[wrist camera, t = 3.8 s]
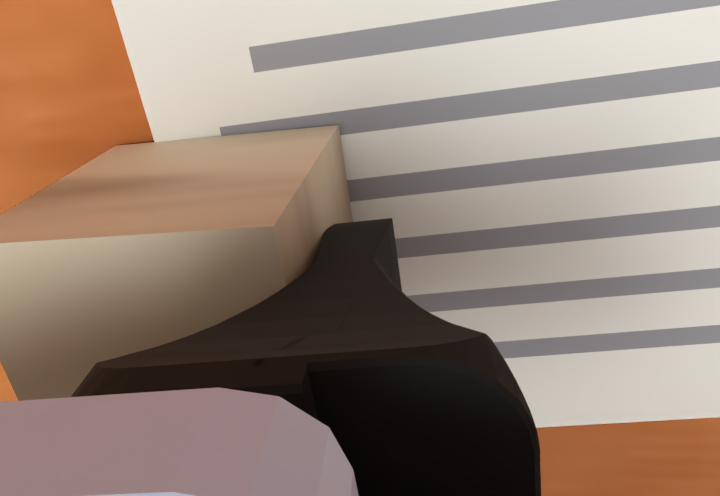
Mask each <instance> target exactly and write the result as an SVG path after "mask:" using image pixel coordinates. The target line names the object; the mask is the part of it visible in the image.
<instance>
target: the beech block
mask: <svg viewBox="0 0 720 496" xmlns="http://www.w3.org/2000/svg"><path fill="white" fill-rule="evenodd" d="M348 222H353V218H352V211H351V205H350V198H349V191H348V184H347V177H346V170H345V164H344V157H343V150H342V143H341V136H340V129H339V125H334V126H323V127H312V128H301V129H290V130H280V131H269V132H258V133H247V134H236V135H225V136H215V137H204V138H193V139H182V140H171V141H162V142H150V143H139V144H128V145H117V146H114V147H113V148H111V149H109V150H108V151H106V152H104V153H103V154H101V155H99V156H98V157H96V158H94V159H93V160H91V161H89V162H88V163H86V164H84V165H83V166H81V167H79V168H78V169H76V170H74V171H73V172H71V173H69V174H68V175H66V176H64V177H63V178H61V179H59V180H58V181H56V182H54V183H53V184H51V185H49V186H48V187H46V188H44V189H43V190H41V191H39V192H38V193H36V194H34V195H33V196H31V197H29V198H28V199H26V200H24V201H23V202H21V203H19V204H18V205H16V206H14V207H13V208H11V209H9V210H8V211H6V212H4V213H3V214H1V215H0V361H1V363H2V365H3V367H4V370H5V372H6V374H7V376H8V378H9V380H10V383H11V385H12V387H13V389H14V391H15V393H16V396H17V398H18V400H19V401H22V400H37V399H52V398H67V397H71V396H72V394H73V393H74V392H75V390H76V389H77V388H78V386H79V385H80V384H81V382H82V381H83V380H84V378H85V377H86V376H87V374H88V373H89V372H90V370H91V369H92V368H93V367H94V365H95V364H96V363H97V362H101V361H105V360H110V359H113V358H117V357H121V356H124V355H128V354H132V353H135V352H139V351H143V350H146V349H150V348H153V347H157V346H160V345H163V344H166V343H169V342H172V341H175V340H178V339H180V338H183V337H186V336H189V335H192V334H194V333H197V332H199V331H202V330H204V329H207V328H209V327H212V326H214V325H216V324H218V323H221V322H223V321H225V320H227V319H229V318H231V317H233V316H235V315H237V314H239V313H241V312H243V311H245V310H247V309H249V308H251V307H253V306H255V305H256V304H258V303H260V302H262V301H263V300H265V299H267V298H268V297H270V296H271V295H273V294H275V293H276V292H278V291H279V290H281V289H282V288H284V287H285V286H287V285H288V284H290V283H291V282H292V281H294V280H295V279H296V278H298V277H299V276H300V275H301V274H302V273H304V272H305V271H306V270H307V269H309V268H310V267H311V266H312V265H313V264H315V262H316V258H317V254H318V250H319V246H320V242H321V239H322V236H323V233H324V232H325V231H326V229H327V228H329V227H330V226H332V225H334V224H338V223H348Z"/></svg>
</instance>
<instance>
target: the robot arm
mask: <svg viewBox="0 0 720 496" xmlns="http://www.w3.org/2000/svg"><path fill="white" fill-rule="evenodd" d="M0 496H541V479H540V447H539V440H538V434H537V430H536V426H535V423H534V419H533V417H532V414H531V411H530V409H529V407H528V404H527V402H526V400H525V397H524V395H523V393H522V391H521V389H520V387H519V385H518V383H517V381H516V379H515V377H514V375H513V374H512V372H511V370H510V368H509V366H508V365H507V363H506V361H505V360H504V358H503V356H502V355H501V353H500V352H499V350H498V348H497V347H496V345H495V344H494V342H493V341H492V339H491V338H490V337H489V336H488V335H487V334H485V333H482V332H479V331H475V330H472V329H469V328H465V327H462V326H459V325H455V324H452V323H450V322H447V321H445V320H443V319H441V318H439V317H437V316H435V315H433V314H431V313H429V312H427V311H426V310H424V309H423V308H421V307H420V306H418V305H417V304H415V303H414V302H413V301H412V300H411V299H410V298H408V297H407V296H406V295H405V294H404V293H403V292H402V287H401V280H400V272H399V265H398V258H397V250H396V243H395V235H394V228H393V220H392V218H388V219H378V220H368V221H358V222H348V223H338V224H334V225H332V226H330V227H329V228H327V229H326V231H325V232H324V233H323V236H322V239H321V242H320V246H319V250H318V254H317V258H316V262H315V264H313V265H312V266H311V267H310V268H309V269H307V270H306V271H305V272H304V273H302V274H301V275H300V276H299V277H298V278H296V279H295V280H294V281H292V282H291V283H290V284H288V285H287V286H285V287H284V288H282V289H281V290H279V291H278V292H276V293H275V294H273V295H271V296H270V297H268V298H267V299H265V300H263V301H262V302H260V303H258V304H256V305H255V306H253V307H251V308H249V309H247V310H245V311H243V312H241V313H239V314H237V315H235V316H233V317H231V318H229V319H227V320H225V321H223V322H221V323H218V324H216V325H214V326H212V327H209V328H207V329H204V330H202V331H199V332H197V333H194V334H192V335H189V336H186V337H183V338H180V339H178V340H175V341H172V342H169V343H166V344H163V345H160V346H157V347H153V348H150V349H146V350H143V351H139V352H135V353H132V354H128V355H124V356H121V357H117V358H113V359H110V360H105V361H101V362H97V363H96V364H95V365H94V367H93V368H92V369H91V370H90V372H89V373H88V374H87V376H86V377H85V378H84V380H83V381H82V382H81V384H80V385H79V386H78V388H77V389H76V390H75V392H74V393H73V394H72V396H71V397H67V398H52V399H37V400H22V401H7V402H0Z"/></svg>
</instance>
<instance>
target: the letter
mask: <svg viewBox="0 0 720 496" xmlns="http://www.w3.org/2000/svg"><path fill="white" fill-rule="evenodd" d="M111 1H112V4H113V7H114V11H115V14H116V17H117V20H118V24H119V27H120V30H121V34H122V37H123V40H124V43H125V47H126V50H127V53H128V57H129V60H130V63H131V67H132V70H133V73H134V76H135V80H136V83H137V86H138V90H139V93H140V96H141V100H142V103H143V106H144V109H145V113H146V116H147V119H148V123H149V126H150V129H151V133H152V136H153V139H154V142H162V141H171V140H182V139H193V138H204V137H215V136H225V135H236V134H247V133H258V132H269V131H280V130H290V129H301V128H312V127H323V126H334V125H339V129H340V136H341V143H342V150H343V157H344V164H345V170H346V177H347V184H348V191H349V198H350V205H351V211H352V218H353V222H358V221H368V220H378V219H388V218H392V220H393V228H394V235H395V243H396V250H397V258H398V265H399V272H400V280H401V287H402V292H403V293H404V294H405V295H406V296H407V297H408V298H410V299H411V300H412V301H413V302H414V303H415V304H417V305H418V306H420V307H421V308H423V309H424V310H426V311H427V312H429V313H431V314H433V315H435V316H437V317H439V318H441V319H443V320H445V321H447V322H450V323H452V324H455V325H459V326H462V327H465V328H469V329H472V330H475V331H479V332H482V333H485V334H487V335H488V336H489V337H490V338H491V339H492V341H493V342H494V344H495V345H496V347H497V348H498V350H499V352H500V353H501V355H502V356H503V358H504V360H505V361H506V363H507V365H508V366H509V368H510V370H511V372H512V374H513V375H514V377H515V379H516V381H517V383H518V385H519V387H520V389H521V391H522V393H523V395H524V397H525V400H526V402H527V404H528V407H529V409H530V411H531V414H532V417H533V419H534V423H535V426H536V428H539V427H556V426H574V425H591V424H609V423H626V422H643V421H661V420H678V419H695V418H713V417H720V0H111Z"/></svg>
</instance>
